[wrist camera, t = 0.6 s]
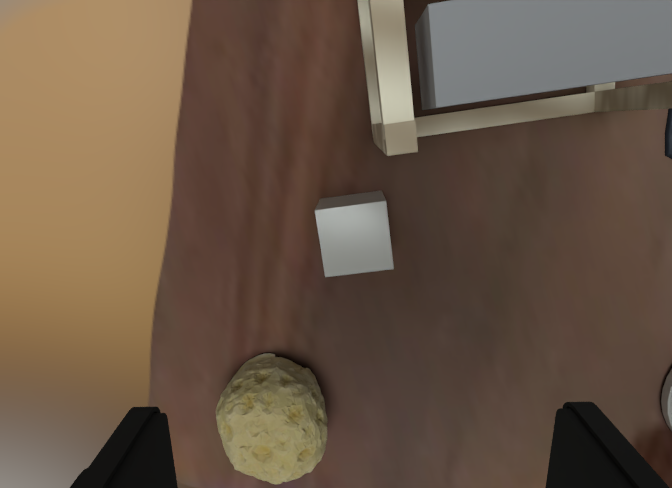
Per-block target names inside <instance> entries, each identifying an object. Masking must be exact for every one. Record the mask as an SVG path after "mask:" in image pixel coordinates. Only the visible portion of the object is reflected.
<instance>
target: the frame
mask: <svg viewBox="0 0 672 488" xmlns="http://www.w3.org/2000/svg"><path fill="white" fill-rule="evenodd" d="M357 4H358V13H359V21H360V30H361V38H362V47H363V56H364V64H365V73H366V81H367V90H368V99H369V107H370V116H371V125H372V133H373V142H374V143H375V144H376V145H377V146H378V147H379V148H380V149H381V150H382V151H383V152H384V153H385V154H386V155H387V156H390V155H398V154H405V153H412V152H418V146H417V137H422V136H429V135H436V134H443V133H450V132H457V131H464V130H471V129H478V128H485V127H492V126H499V125H506V124H513V123H520V122H527V121H534V120H541V119H548V118H555V117H562V116H569V115H576V114H584V113H591V112H604V111H625V110H647V109H668V108H672V81H670V82H663V83H655V84H647V85H640V86H632V87H625V88H617V89H615V82H612V83H605V84H598V85H591V86H586V93H582V94H575V95H568V96H561V97H554V98H547V99H540V100H533V101H527V102H520V103H513V104H506V105H499V106H492V107H485V108H478V109H472V110H465V111H458V112H451V113H444V114H437V115H430V116H423V117H417V118H414V112H413V101H412V90H411V79H410V68H409V58H408V47H407V36H406V25H405V14H404V3H403V0H357Z"/></svg>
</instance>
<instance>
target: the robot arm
mask: <svg viewBox="0 0 672 488" xmlns="http://www.w3.org/2000/svg"><path fill="white" fill-rule="evenodd" d="M661 405H662V413H663V416H664V418H665V421H666V424H667V425H668V426H669V428H670V429H671V431H672V369H671V371H670V373H669V374H668V376H667V378H666V381H665V384H664V387H663V390H662V398H661ZM70 488H178V487H177V480H176V473H175V467H174V460H173V453H172V446H171V439H170V432H169V426H168V419H167V415H166V414H165V413H160V410H159V408H158V407H133V408H131V409H130V410H129V412H128V413H127V414H126V416H125V417H124V419H123V420H122V421H121V423H120V424H119V426H118V427H117V428H116V430H115V431H114V433H113V434H112V435H111V437H110V438H109V440H108V441H107V442H106V444H105V445H104V447H103V448H102V449H101V451H100V452H99V454H98V455H97V456H96V458H95V459H94V461H93V462H92V463H91V465H90V466H89V467H88V468H87V469H85V470H83V472H82V473H81V474H80V475H79V476H78V477H77V479H76V480H75V481H74V483H73V484H72V486H71V487H70ZM546 488H669V487H668V485H667V484H666V483H665V482H664V481H663V480H662V479H661V478H660V476H659V475H658V474H657V473H656V472H655V471H654V470H653V469H652V467H651V466H650V465H649V464H648V463H647V462H646V461H645V460H644V458H643V457H642V456H641V455H640V454H639V453H638V452H637V451H636V449H635V448H634V447H633V446H632V445H631V444H630V443H629V442H628V440H627V439H626V438H625V437H624V436H623V435H622V434H621V433H620V431H619V430H618V429H617V428H616V427H615V426H614V425H613V424H612V422H611V421H610V420H609V419H608V418H607V417H606V416H605V415H604V413H603V412H602V411H601V410H600V409H599V408H598V407H597V406H596V405H595V404H594V403H592V402H566V403H565V404H564V405H563V409H558V410H557V412H556V417H555V425H554V432H553V439H552V446H551V453H550V460H549V467H548V475H547V482H546Z"/></svg>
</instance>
